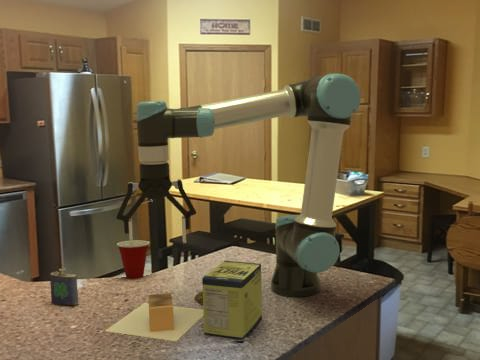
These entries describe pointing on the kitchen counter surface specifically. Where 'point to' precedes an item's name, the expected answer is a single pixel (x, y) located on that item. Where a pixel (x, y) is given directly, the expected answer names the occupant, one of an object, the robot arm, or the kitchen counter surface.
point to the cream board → (140, 323)
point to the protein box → (232, 300)
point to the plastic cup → (133, 257)
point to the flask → (64, 288)
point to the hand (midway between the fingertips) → (158, 243)
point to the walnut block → (161, 312)
